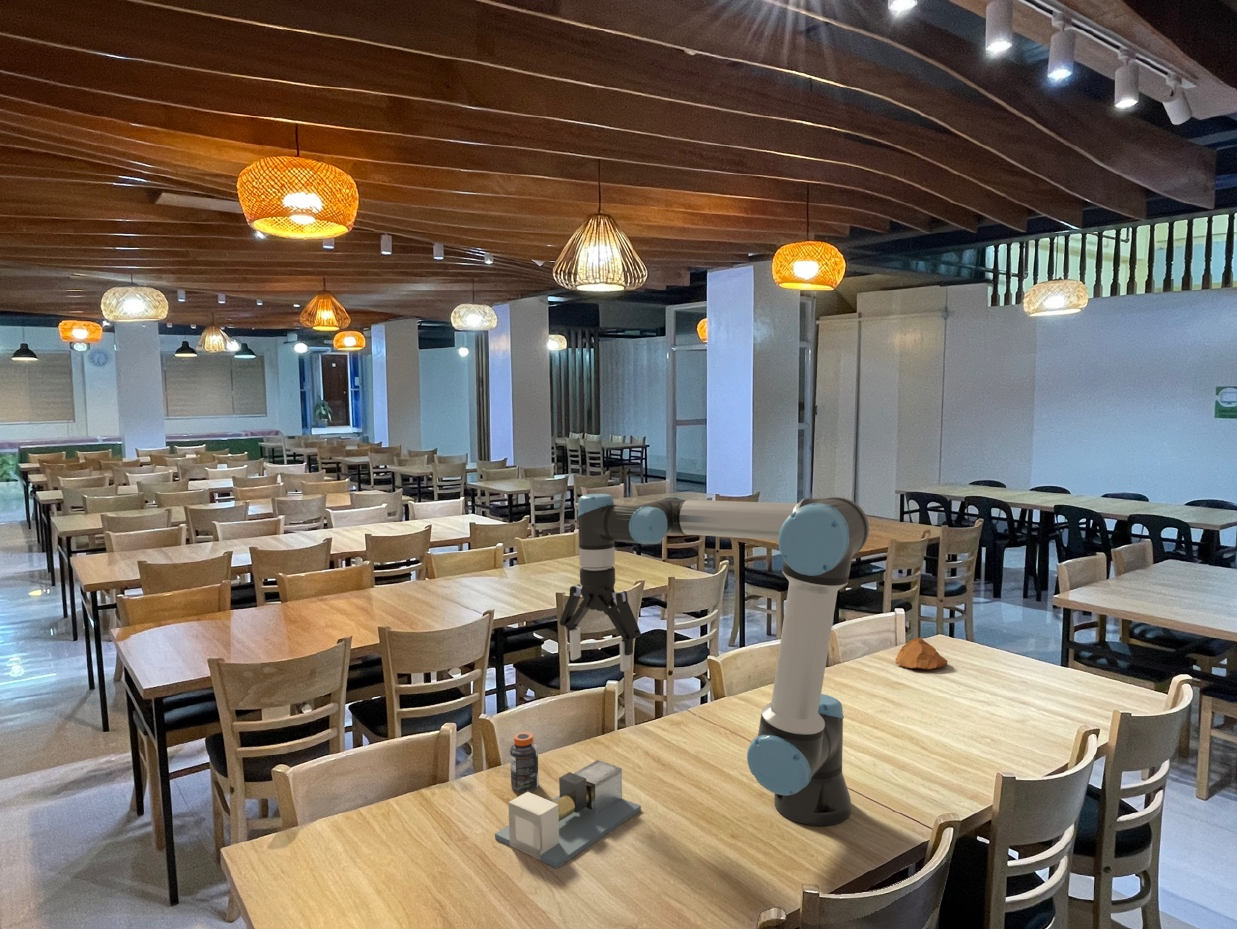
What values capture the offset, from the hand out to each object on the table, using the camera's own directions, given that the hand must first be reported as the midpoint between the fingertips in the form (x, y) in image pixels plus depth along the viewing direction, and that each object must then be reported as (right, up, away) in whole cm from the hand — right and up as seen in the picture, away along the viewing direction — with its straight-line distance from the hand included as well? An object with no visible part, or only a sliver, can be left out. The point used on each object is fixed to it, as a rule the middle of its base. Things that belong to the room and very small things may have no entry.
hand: (600, 664), depth 173 cm
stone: (+97, -19, +74) cm, 123 cm away
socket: (-12, -29, -23) cm, 38 cm away
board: (-6, -28, -15) cm, 32 cm away
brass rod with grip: (-3, -25, -13) cm, 28 cm away
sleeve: (0, -26, -9) cm, 27 cm away
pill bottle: (-16, -27, 0) cm, 31 cm away
